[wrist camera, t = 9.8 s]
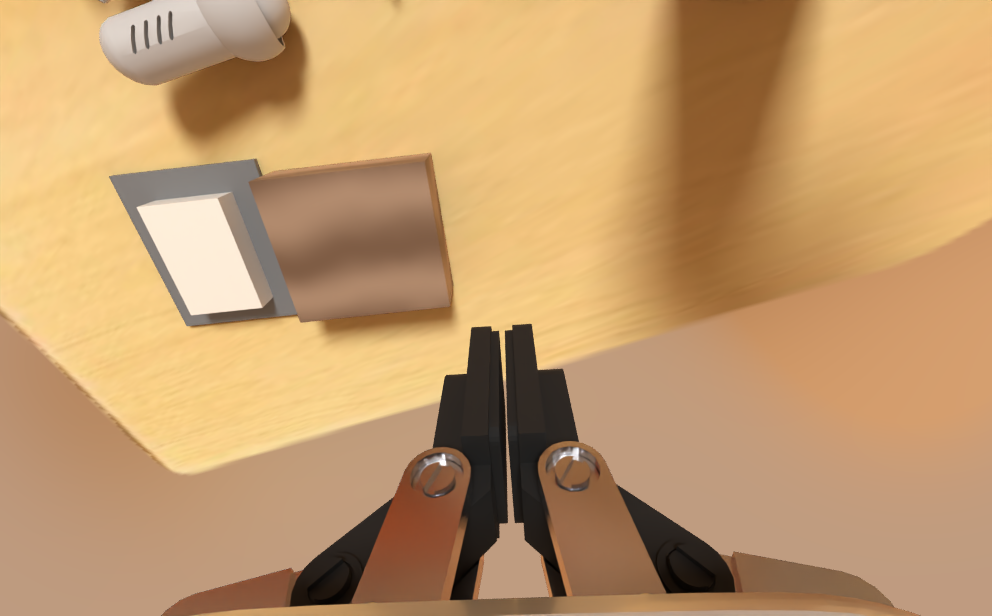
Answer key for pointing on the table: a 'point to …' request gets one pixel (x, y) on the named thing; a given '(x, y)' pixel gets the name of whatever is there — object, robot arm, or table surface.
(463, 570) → the robot arm
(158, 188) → the mat
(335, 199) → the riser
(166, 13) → the clip-on lamp
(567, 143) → the table surface
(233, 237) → the tile
